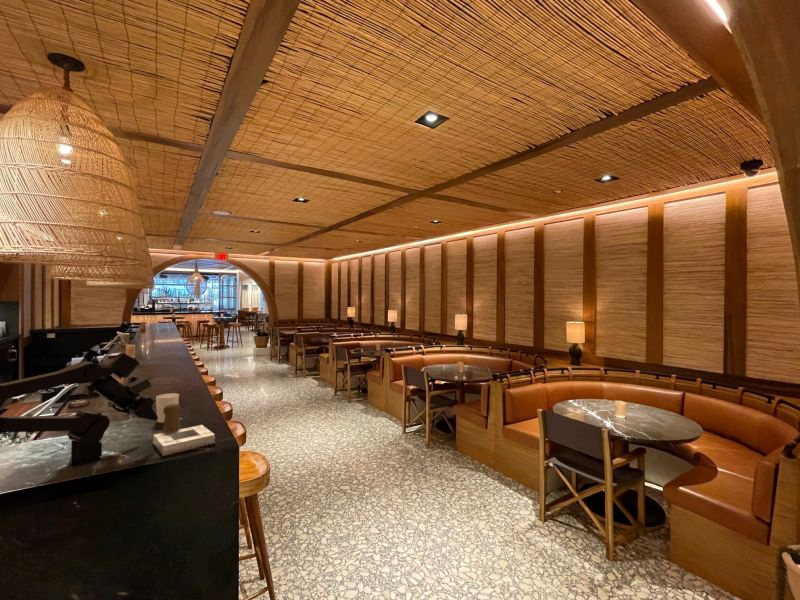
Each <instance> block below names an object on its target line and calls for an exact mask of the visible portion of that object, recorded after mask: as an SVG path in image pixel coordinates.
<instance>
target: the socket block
mask: <svg viewBox="0 0 800 600" xmlns="http://www.w3.org/2000/svg"><path fill="white" fill-rule="evenodd" d="M152 435H153V436H152V437H153V439H152V441H153V442H152V444H153V445H154V447H155V448H156V449H157V450H158V452H159V453H160V454H161V456H162V457H163V456H164V457H165V456H168V455H172V454H177V453H181V452H184V451H185V452H186V451H189V450H193V449H197V447H198V448H202V447H205V446H204V445H206V446H209V445H208V444H210V445H213V444H212V443H214V444H215V443H216V442H215V441H216V434H215V433H214V432H212V431H211V430H210V429H208V428H207V427H205V426H204V425H203V424H199V425H196V426H195V425H194V426H190V427H184V428H181V429H179V430H174V431H169V432H164V433H162V432H161V433H156V434H152ZM201 446H202V447H201Z"/></svg>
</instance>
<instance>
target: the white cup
mask: <svg viewBox="0 0 800 600" xmlns="http://www.w3.org/2000/svg"><path fill="white" fill-rule="evenodd" d="M155 398H156V399H155V401H156V402H155V405H156V407H155V408H156V415H157V416H158V419H157V420H156V421H157V423H158V424H159V423H160V424H164V420H165V414H164V412H163V410H164V407H165V406H167V405H170V404H178V405H179V400H180V394H179V393H175V392H174V393H164V394H159V395H157V396H156V397H155Z"/></svg>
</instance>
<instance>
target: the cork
mask: <svg viewBox="0 0 800 600" xmlns="http://www.w3.org/2000/svg"><path fill="white" fill-rule="evenodd" d="M163 412H164V414H165V420H164V423H163V426H162V427H163V428H162V432H161V433H164V432H169V431H174V430H179V429H182V427H181V421H180V412H181V406H180V404H179V403H178V404H170V405H167V406H165V407H164V410H163Z"/></svg>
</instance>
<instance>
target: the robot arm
mask: <svg viewBox="0 0 800 600" xmlns="http://www.w3.org/2000/svg"><path fill="white" fill-rule="evenodd" d="M140 365H141V362H139V361H138V360H137V359H136V358H133V357H131V356H130V355H128V354H126V352H120V353H118V354H117V356H116V357H115V358H114V359H113V360H111V361H110V362H109V364H108V365H106V364H99V363H96V362H89V361H80V362H77V363H74V364H71V365H69V366H66V367H64V368H62V369H59V370H57V371H54V372H49V373H44V374H40V375H36V376H31V377H25V378H21V379H17V380H13V381H9V382H3V383H0V409H1V408H2V406H3V405H4V403H5V402H6V401H8V400H9V399H12V398H15V397H20V396H23V395H27V394H32V393H36V392H40V391H44V390H47V389H51V388H55V387H60V386H65V385H78V384H79V385H81V384H82V385H83V384H84V385H83V394H85V395H89V396H90V395H92V394H93V393H94V392H95V393H97V394H98V395H99V396H101V397H102V398H104V400H105V401H106V402H107V407H108V408H109V409H111V410H114V411H116V412H119V413H123V414H129V415H132V416H134V417H136V418H140V419H144V420H151V421H157V419H158V416H157V412H155V410H154V409H153V405H154V404H155V403H156V402H155V401H156V399H154V398H152V397H151V396H148V395H147V396H146V395H145V396H141V392H143V391H145V390H147V389H149V388H151V387H152V383H151V382H150V380H149V377H146V376H138V377H137V376H133V375H132V376H130V375H131V374H132V373H134V371H136V369H138V367H139V366H140ZM127 378H128V379H127ZM122 379H127V383H126V384H123V383H121V382H120V381H118V380H122ZM86 383H87V384H86ZM138 397H139V398H138ZM110 424H111V421H110V418H109V416H108V415H106V414H103V412H100V411H96V410H92V409H89V410H81V409H76V413H75V414H73V415H68V416H66V415H65V416H62V415H61V416H60V415H59V416H55V415H53V416H50V415H48V416H45V415H44V416H42V415H41V416H39V415H38V416H37V415H34V416H33V415H24V416H23V415H21V416H19V415H18V416H17V415H7V416H6V415H0V434H3V433H32V432H33V433H35V432H36V433H37V432H41V433H42V432H67V434H66V435H67V437H68V439H69V440H70V442H71V443H70V459H69V462H70V463H69V464H70V467H74V466H75V467H76V466H80V465H85V464H88V463H93V462H94V463H95V462H97V461H100V460H101V457H102V453H103V442H102V439H103V437H104V435H105V433H106V431H107V430H108V429H109V427H110Z"/></svg>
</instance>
